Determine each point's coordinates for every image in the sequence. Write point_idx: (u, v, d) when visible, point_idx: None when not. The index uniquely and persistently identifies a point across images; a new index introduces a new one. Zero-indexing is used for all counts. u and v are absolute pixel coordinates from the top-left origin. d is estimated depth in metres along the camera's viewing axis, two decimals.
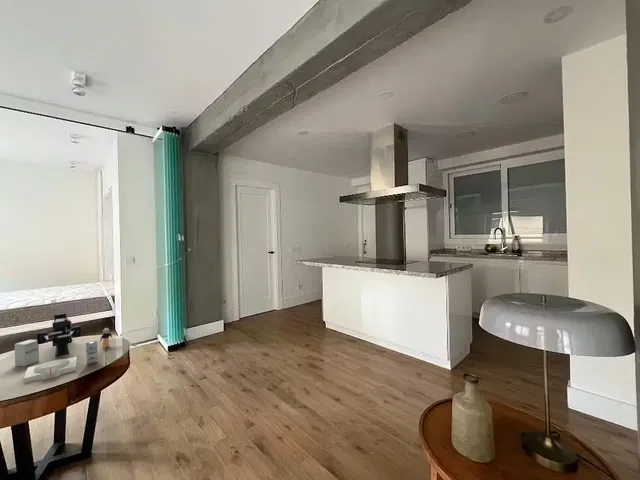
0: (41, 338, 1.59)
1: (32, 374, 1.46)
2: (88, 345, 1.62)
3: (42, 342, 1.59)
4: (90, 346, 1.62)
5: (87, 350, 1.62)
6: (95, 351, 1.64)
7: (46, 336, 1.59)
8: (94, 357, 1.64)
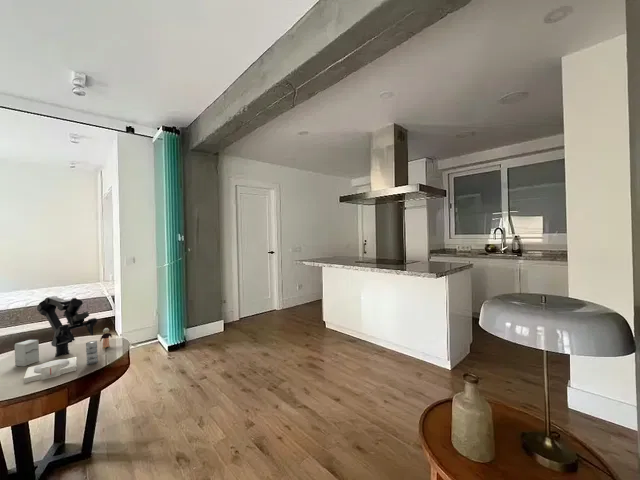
0: (63, 332, 1.63)
1: (32, 374, 1.46)
2: (88, 345, 1.62)
3: (62, 335, 1.64)
4: (90, 346, 1.62)
5: (87, 350, 1.62)
6: (95, 351, 1.64)
7: (70, 333, 1.64)
8: (94, 357, 1.64)
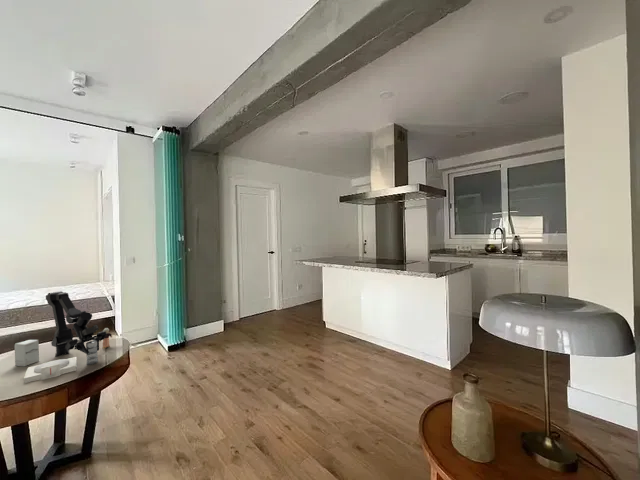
0: (77, 346, 1.61)
1: (32, 374, 1.46)
2: (88, 345, 1.62)
3: (76, 348, 1.62)
4: (90, 346, 1.62)
5: None
6: (95, 351, 1.64)
7: (84, 347, 1.62)
8: (94, 357, 1.64)
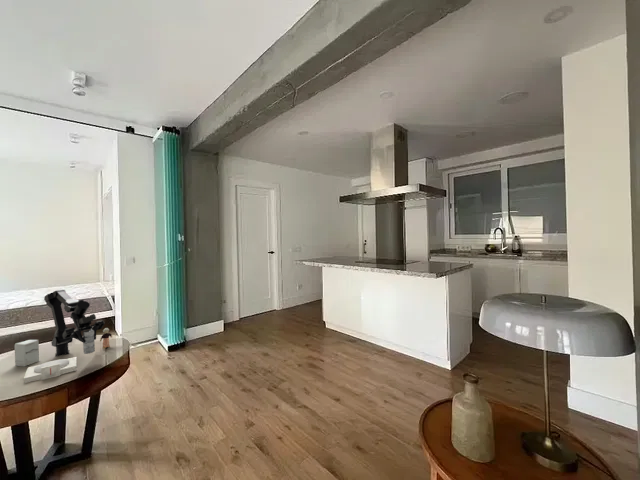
0: (73, 334, 1.60)
1: (32, 374, 1.46)
2: (85, 334, 1.61)
3: (73, 337, 1.61)
4: (86, 335, 1.61)
5: (84, 339, 1.61)
6: (92, 340, 1.63)
7: (81, 335, 1.61)
8: (91, 346, 1.63)
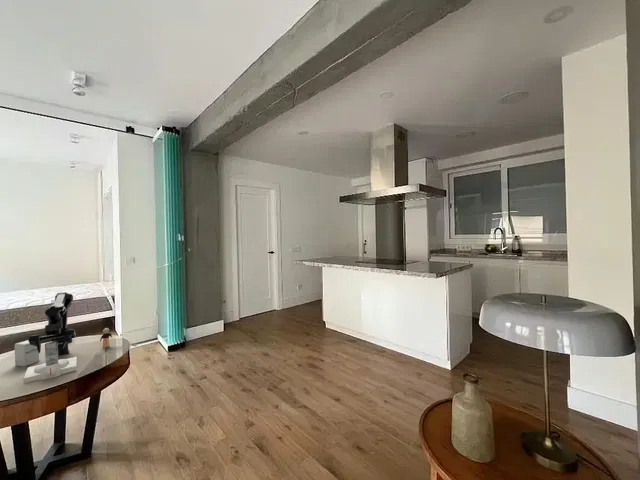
0: (33, 343, 1.53)
1: (32, 374, 1.46)
2: (45, 346, 1.53)
3: (35, 345, 1.55)
4: (46, 347, 1.53)
5: (45, 351, 1.54)
6: (52, 353, 1.54)
7: (38, 345, 1.53)
8: (51, 359, 1.53)
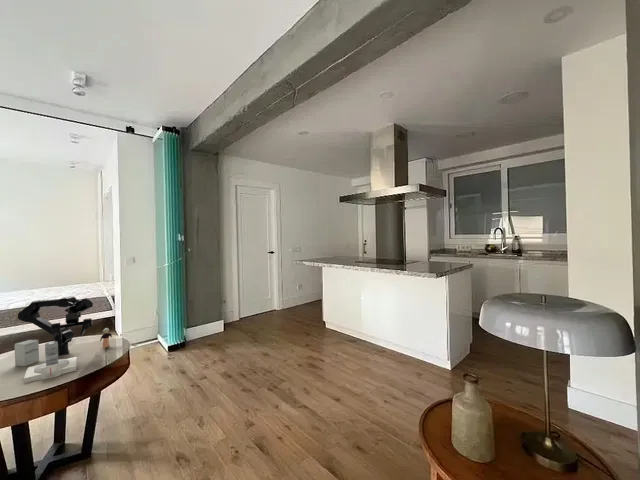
0: (55, 330, 1.68)
1: (32, 374, 1.46)
2: (45, 346, 1.53)
3: (56, 332, 1.69)
4: (46, 347, 1.53)
5: None
6: (52, 353, 1.54)
7: (59, 332, 1.67)
8: (51, 359, 1.53)
